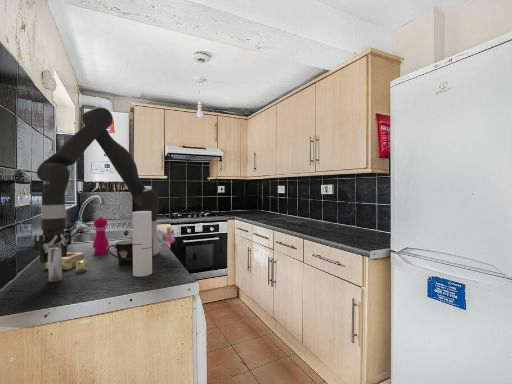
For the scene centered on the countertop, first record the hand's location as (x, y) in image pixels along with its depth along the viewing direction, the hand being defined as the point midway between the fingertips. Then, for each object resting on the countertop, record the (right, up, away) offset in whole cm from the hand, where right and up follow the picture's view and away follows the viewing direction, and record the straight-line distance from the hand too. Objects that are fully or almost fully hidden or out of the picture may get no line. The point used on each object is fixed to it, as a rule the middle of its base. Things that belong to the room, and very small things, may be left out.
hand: (54, 259), depth 102 cm
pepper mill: (-4, -7, +39) cm, 40 cm away
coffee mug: (+16, -7, +21) cm, 27 cm away
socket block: (-8, -7, +18) cm, 21 cm away
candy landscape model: (+14, -6, +64) cm, 66 cm away
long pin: (0, -8, 0) cm, 8 cm away
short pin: (+3, -7, +11) cm, 14 cm away
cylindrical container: (+30, -8, +8) cm, 32 cm away
